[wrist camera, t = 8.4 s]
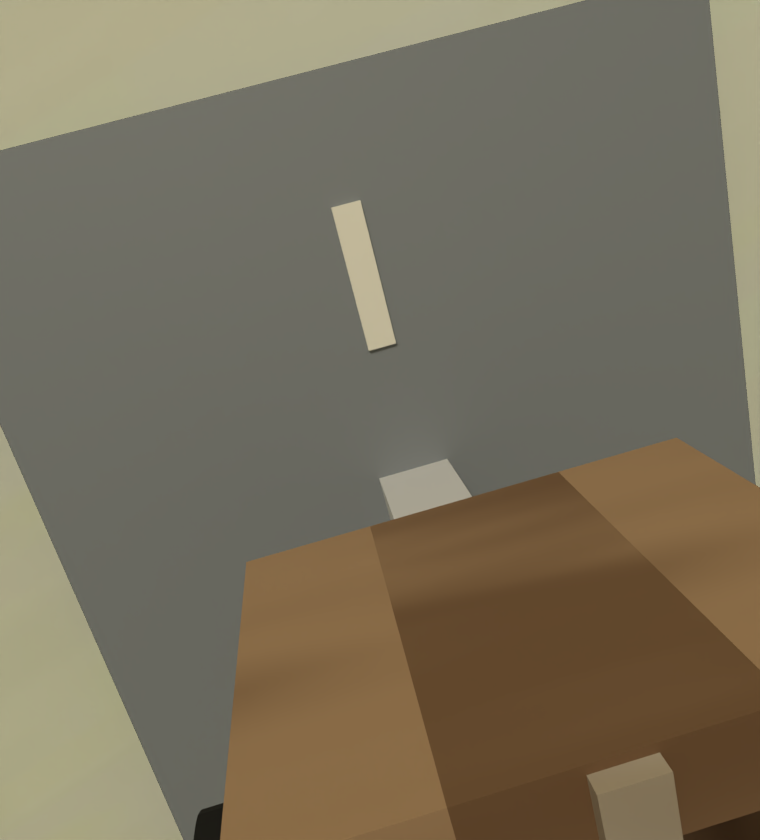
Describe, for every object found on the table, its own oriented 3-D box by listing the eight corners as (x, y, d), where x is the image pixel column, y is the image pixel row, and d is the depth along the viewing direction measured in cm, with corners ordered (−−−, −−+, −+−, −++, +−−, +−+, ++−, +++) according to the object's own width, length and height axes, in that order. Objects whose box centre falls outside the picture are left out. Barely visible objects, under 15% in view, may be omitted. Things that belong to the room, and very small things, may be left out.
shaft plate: (749, 725, 22) (956, 954, 15) (230, 889, 21) (208, 1207, 14) (667, -9, 16) (954, -167, 9) (-72, 180, 15) (-358, 161, 8)
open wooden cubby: (719, 776, 12) (1005, 1153, 8) (360, 889, 12) (416, 1359, 7) (676, 437, 10) (1029, 649, 6) (246, 562, 10) (213, 904, 5)
